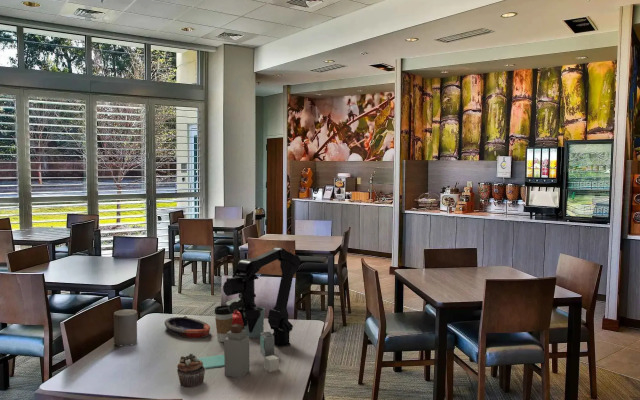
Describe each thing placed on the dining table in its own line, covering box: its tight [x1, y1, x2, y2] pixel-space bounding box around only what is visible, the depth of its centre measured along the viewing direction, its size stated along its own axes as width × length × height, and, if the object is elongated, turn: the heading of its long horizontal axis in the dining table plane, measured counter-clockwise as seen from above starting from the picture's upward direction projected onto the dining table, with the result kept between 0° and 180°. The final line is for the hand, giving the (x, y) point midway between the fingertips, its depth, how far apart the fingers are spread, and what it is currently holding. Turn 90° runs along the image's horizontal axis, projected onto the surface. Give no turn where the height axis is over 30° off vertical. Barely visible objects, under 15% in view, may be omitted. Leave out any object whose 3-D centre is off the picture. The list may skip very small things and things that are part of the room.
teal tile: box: [197, 354, 225, 370], centre depth 203 cm, size 11×11×1 cm
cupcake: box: [177, 353, 206, 389], centre depth 183 cm, size 10×10×10 cm
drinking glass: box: [243, 306, 266, 339], centre depth 237 cm, size 10×10×12 cm
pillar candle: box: [113, 308, 138, 346], centre depth 226 cm, size 10×10×15 cm
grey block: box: [263, 354, 280, 373], centre depth 196 cm, size 4×4×4 cm
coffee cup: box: [214, 304, 234, 343], centre depth 230 cm, size 8×8×15 cm
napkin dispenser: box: [259, 331, 276, 357], centre depth 212 cm, size 4×7×8 cm, turn 21°
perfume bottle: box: [223, 324, 250, 378], centre depth 192 cm, size 7×7×18 cm
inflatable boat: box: [164, 315, 211, 339], centre depth 241 cm, size 16×31×5 cm, turn 46°
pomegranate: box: [232, 309, 244, 329], centre depth 249 cm, size 10×10×9 cm
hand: (247, 329), depth 210 cm, fingers open, 9 cm apart
